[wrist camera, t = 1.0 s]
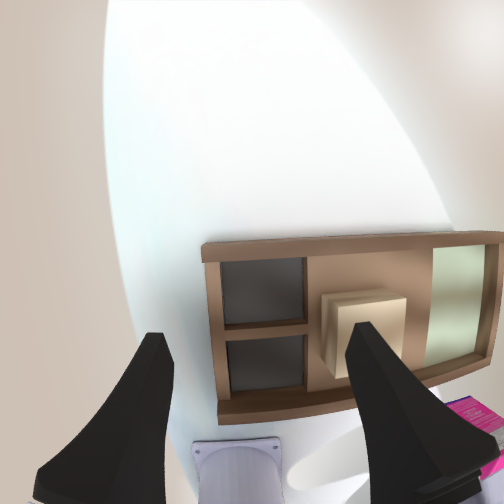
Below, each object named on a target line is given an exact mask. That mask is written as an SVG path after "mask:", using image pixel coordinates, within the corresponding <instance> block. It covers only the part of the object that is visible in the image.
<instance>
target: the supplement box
mask: <svg viewBox="0 0 504 504" xmlns="http://www.w3.org/2000/svg"><path fill="white" fill-rule="evenodd" d="M444 404H445V405H446V406H448V407H449V408H450V409H452V410H453V411H454V412H456V413H457V414H458V415H460V416H461V417H462V418H464V419H465V420H467V421H468V422H470V423H471V424H473V425H474V426H476V427H478V428H479V429H481V430H483V431H485V432H487V433H489V434H490V435H492V436H494V437H495V439H496V441H497V444H498V446H499V449H500V452H501V455H500V457H498V458H497V459H495V460H494V461H492V462H491V463H489V464H487V465H486V466H484V467H482V468H480V469H481V472H482V475H481V476H479V480H482V479H484V478H486V477H488V476H489V475H491V474H493V473H494V472H496V471H498V470H500V469H501V468H504V419H503V418H502V417H500V416H499V415H497V414H496V413H494V412H493V411H492V410H490V409H489V408H487V407H486V406H484V405H483V404H481V403H480V402H478V401H477V400H476V399H474V398H473V397H471V396H467V397H464V398H461V399H458V400H455V401H452V402H448V403H444Z"/></svg>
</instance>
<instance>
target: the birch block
mask: <svg viewBox="0 0 504 504" xmlns="http://www.w3.org/2000/svg"><path fill="white" fill-rule="evenodd" d="M405 314H406V298H405V297H403V296H400V295H398V294H396V293H393V292H391V291H389V290H386V289H384V288H379V289H370V290H361V291H352V292H342V293H332V294H322V325H321V359H322V360H323V362H324V363H325V365H326V366H327V368H328V369H329V370H330V372H331V373H332V375H333V376H334V378H335V379H338V378H343V377H348V371H347V366H346V360H345V352H346V349H347V346H348V343H349V340H350V337H351V334H352V331H353V328H354V325H355V323H359V322H367V321H370V322H371V323H372V324H373V326H374V327H375V328H376V329H377V331H378V332H379V333H380V335H381V336H382V337H383V338H384V340H385V341H386V342H387V343H388V345H389V346H390V347H391V348H392V350H393V351H394V352H395V353H396V354H397V356H398V357H399V358H400V359H401V354H402V346H403V336H404V326H405Z"/></svg>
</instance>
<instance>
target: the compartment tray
mask: <svg viewBox="0 0 504 504" xmlns="http://www.w3.org/2000/svg"><path fill="white" fill-rule="evenodd" d="M201 255H202V263H205V274H206V287H207V300H208V312H209V323H210V334H211V344H212V354H213V364H214V373H215V382H216V390H217V399H218V407H217V417H218V425H236V424H250V423H262V422H272V421H281V420H289V419H297V418H304V417H310V416H317V415H322V414H328V413H334V412H339V411H344V410H349V409H354V408H358V407H357V404H356V400H355V397H354V394H353V390H352V387H351V384H350V380H349V377H343V378H338V379H335V378H334V376H333V375H332V373H331V372H330V370H329V369H328V368H327V366H326V365H325V363H324V362H323V360H322V359H321V325H322V294H332V293H342V292H352V291H361V290H370V289H379V288H384V289H386V290H389V291H391V292H393V293H396V294H398V295H400V296H403V297H405V298H406V314H405V326H404V336H403V346H402V354H401V360H402V361H403V363H404V364H405V365H406V366H407V367H408V368H409V370H410V371H411V372H412V373H413V374H414V375H415V376H416V377H417V378H418V379H419V380H420V381H421V383H422V384H423V385H424V386H425V387H426V388H427V389H428V388H431V387H434V386H437V385H440V384H442V383H445V382H448V381H451V380H453V379H456V378H459V377H461V376H464V375H466V374H469V373H472V372H474V371H476V370H479V369H481V368H484V367H486V366H488V365H490V362H491V357H492V353H493V348H494V343H495V338H496V332H497V326H498V319H499V313H500V306H501V296H502V287H503V275H504V232H496V231H451V232H423V233H397V234H373V235H350V236H328V237H308V238H287V239H268V240H249V241H231V242H214V243H205V244H203V245H202V246H201ZM220 262H222V277H223V292H224V306H225V320H226V324H225V323H224V309H223V296H222V281H221V265H220ZM302 266H303V281H302ZM303 335H304V351H303ZM226 341H227V345H228V357H229V368H230V380H231V390H232V391H230V381H229V370H228V359H227V347H226Z"/></svg>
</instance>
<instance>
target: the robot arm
mask: <svg viewBox="0 0 504 504" xmlns="http://www.w3.org/2000/svg"><path fill="white" fill-rule="evenodd" d="M345 360H346V366H347V371H348V377H349V380H350V384H351V387H352V390H353V394H354V397H355V400H356V404H357V407H358V410H359V414H360V417H361V421H362V424H363V428H364V433H365V440H366V446H367V454H368V462H369V473H370V495H371V504H504V468H501V469H500V470H498V471H496V472H494V473H493V474H491V475H489V476H488V477H486V478H484V479H482V480H479V476H481V475H482V472H481V469H480V468H482V467H484V466H486V465H487V464H489V463H491V462H492V461H494V460H495V459H497V458H498V457H500V455H501V452H500V449H499V446H498V444H497V441H496V439H495V437H494V436H492V435H490V434H489V433H487V432H485V431H483V430H481V429H479V428H478V427H476V426H474V425H473V424H471V423H470V422H468V421H467V420H465V419H464V418H462V417H461V416H460V415H458V414H457V413H456V412H454V411H453V410H452V409H450V408H449V407H448V406H446V405H445V404H444V403H443V402H442V401H441V400H439V399H438V398H437V397H436V396H435V395H434V394H433V393H432V392H431V391H430V390H428V389H427V388H426V387H425V386H424V385H423V384H422V383H421V381H420V380H419V379H418V378H417V377H416V376H415V375H414V374H413V373H412V372H411V371H410V370H409V368H408V367H407V366H406V365H405V364H404V363H403V361H402V360H401V359H400V358H399V357H398V356H397V354H396V353H395V352H394V351H393V350H392V348H391V347H390V346H389V345H388V343H387V342H386V341H385V340H384V338H383V337H382V336H381V335H380V333H379V332H378V331H377V329H376V328H375V327H374V326H373V324H372V323H371V322H370V321H367V322H359V323H355V325H354V328H353V331H352V334H351V337H350V340H349V343H348V346H347V349H346V352H345ZM173 380H174V362H173V359H172V356H171V353H170V351H169V348H168V345H167V342H166V340H165V337H164V334H163V333H147V334H146V335H145V337H144V339H143V341H142V342H141V344H140V346H139V348H138V350H137V352H136V353H135V355H134V357H133V359H132V360H131V362H130V364H129V365H128V367H127V369H126V370H125V372H124V374H123V375H122V377H121V379H120V380H119V382H118V383H117V385H116V386H115V388H114V389H113V391H112V392H111V394H110V395H109V397H108V398H107V400H106V401H105V403H104V404H103V405H102V406H101V408H100V409H99V410H98V412H97V413H96V414H95V415H94V417H93V418H92V419H91V420H90V422H89V423H88V424H87V425H86V426H85V427H84V428H83V429H82V431H81V432H80V433H79V434H78V435H77V436H76V437H75V438H74V439H73V440H72V441H71V442H70V443H69V444H68V445H67V446H66V447H65V448H64V449H63V450H61V452H59V453H58V454H57V455H56V456H55V457H53V458H52V459H51V460H50V461H48V462H47V463H46V464H45V465H43V466H42V467H41V468H39V469H38V472H37V475H36V479H35V485H34V492H33V498H34V499H35V500H37V501H39V502H42V503H44V504H166V496H165V474H164V473H165V471H164V469H165V468H164V460H165V436H166V430H167V423H168V417H169V410H170V404H171V398H172V391H173ZM273 446H276V447H273ZM196 450H199V451H196ZM192 452H193V457H194V461H195V465H196V470H197V474H198V478H199V482H200V487H199V501H198V504H285V502H284V497H283V493H282V488H281V441H280V439H279V438H267V439H257V440H244V441H226V442H194V443H193V444H192ZM28 504H34V503H32V502H28Z"/></svg>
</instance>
